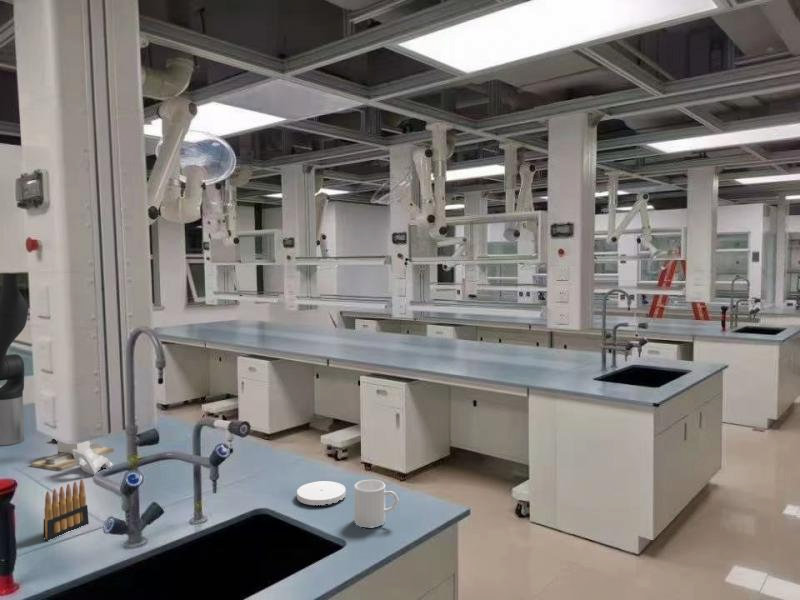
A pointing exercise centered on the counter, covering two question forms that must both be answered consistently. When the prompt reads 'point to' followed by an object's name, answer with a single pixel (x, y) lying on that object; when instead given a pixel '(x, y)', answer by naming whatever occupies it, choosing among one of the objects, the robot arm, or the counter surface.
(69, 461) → the rail board
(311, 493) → the plastic lid
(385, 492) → the mug
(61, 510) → the ammunition clip
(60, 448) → the block
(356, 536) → the counter surface
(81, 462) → the mounting bracket
